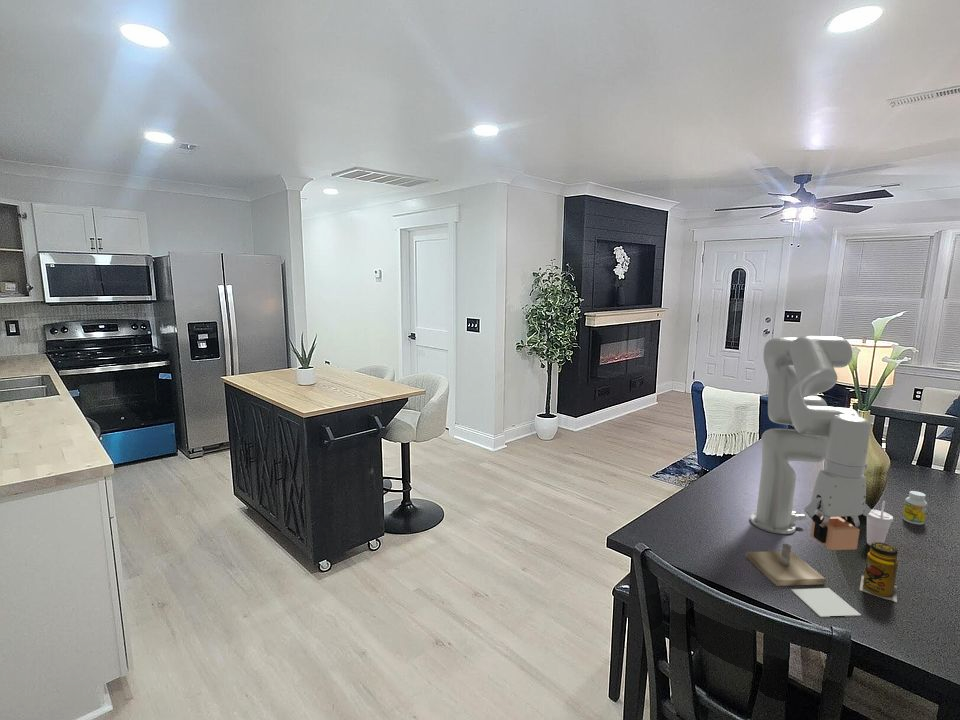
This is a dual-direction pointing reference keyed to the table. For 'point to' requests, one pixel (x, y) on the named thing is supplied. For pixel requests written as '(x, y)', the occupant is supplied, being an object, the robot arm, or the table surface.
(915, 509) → the supplement bottle
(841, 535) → the peach open box
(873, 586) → the condiment
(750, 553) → the stand
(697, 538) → the table surface
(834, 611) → the mat
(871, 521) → the smoothie
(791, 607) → the table surface
